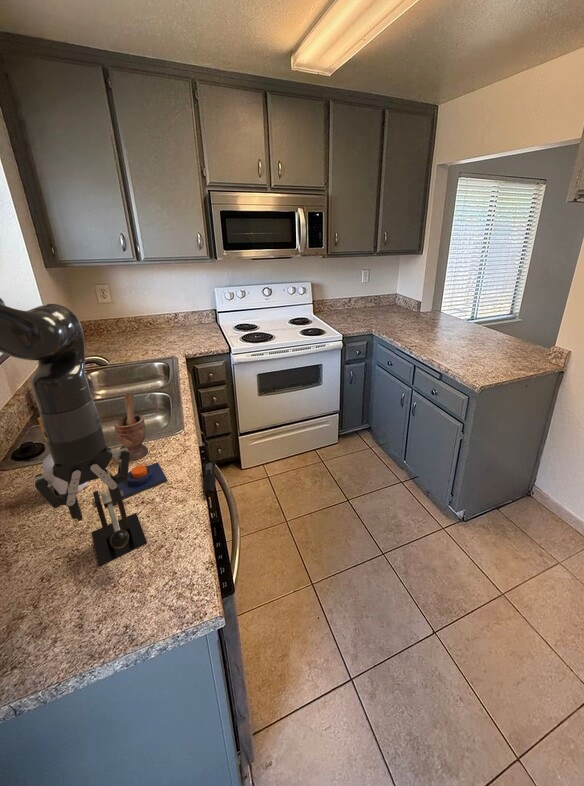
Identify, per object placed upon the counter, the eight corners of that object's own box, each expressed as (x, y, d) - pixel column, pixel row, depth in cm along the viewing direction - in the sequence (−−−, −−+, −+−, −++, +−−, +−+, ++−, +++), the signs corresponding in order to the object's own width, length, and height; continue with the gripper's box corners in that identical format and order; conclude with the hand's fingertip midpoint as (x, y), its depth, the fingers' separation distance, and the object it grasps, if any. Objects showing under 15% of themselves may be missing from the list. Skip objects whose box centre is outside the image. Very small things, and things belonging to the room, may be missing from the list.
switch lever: (131, 545, 79) (130, 539, 76) (113, 554, 77) (111, 548, 74) (116, 493, 85) (114, 486, 83) (99, 500, 83) (96, 493, 81)
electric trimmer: (202, 500, 100) (201, 491, 99) (203, 466, 114) (202, 457, 113) (216, 497, 101) (215, 488, 100) (216, 463, 115) (215, 455, 114)
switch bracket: (148, 547, 85) (136, 497, 80) (100, 570, 79) (83, 519, 74) (137, 516, 94) (125, 470, 89) (93, 536, 88) (78, 488, 83)
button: (133, 480, 102) (132, 475, 102) (131, 473, 105) (129, 468, 105) (148, 474, 105) (147, 470, 104) (145, 468, 108) (144, 463, 107)
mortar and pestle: (118, 449, 123) (105, 397, 117) (145, 440, 128) (134, 389, 121) (124, 465, 115) (111, 410, 108) (153, 455, 120) (142, 402, 113)
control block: (123, 503, 99) (119, 491, 98) (116, 484, 106) (113, 472, 105) (167, 484, 106) (165, 473, 104) (159, 467, 113) (156, 457, 112)
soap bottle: (56, 503, 99) (30, 426, 91) (48, 488, 105) (23, 414, 97) (92, 486, 105) (71, 413, 97) (83, 473, 111) (62, 403, 103)
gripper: (118, 406, 65) (136, 482, 71) (18, 433, 57) (47, 517, 63) (126, 422, 59) (145, 504, 65) (16, 455, 51) (49, 545, 57)
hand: (97, 510), depth 64 cm, fingers open, 4 cm apart
